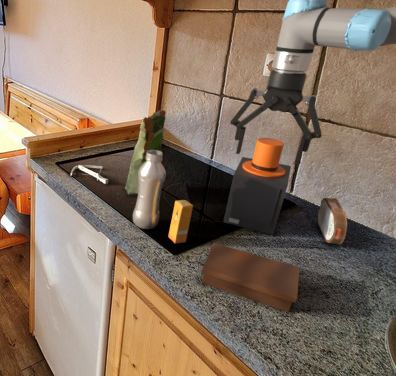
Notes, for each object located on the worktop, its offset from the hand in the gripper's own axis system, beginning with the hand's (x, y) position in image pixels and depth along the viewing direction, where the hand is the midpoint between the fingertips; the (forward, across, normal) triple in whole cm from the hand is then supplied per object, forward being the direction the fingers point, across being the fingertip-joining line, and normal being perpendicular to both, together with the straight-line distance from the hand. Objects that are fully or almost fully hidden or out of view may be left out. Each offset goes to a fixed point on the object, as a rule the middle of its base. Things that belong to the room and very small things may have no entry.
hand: (266, 157), depth 102 cm
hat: (+3, 0, 0) cm, 3 cm away
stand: (+17, +3, -31) cm, 36 cm away
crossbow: (+17, -49, +1) cm, 52 cm away
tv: (+17, 0, 0) cm, 17 cm away
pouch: (+17, -30, -2) cm, 35 cm away
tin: (+17, +18, +1) cm, 25 cm away
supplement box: (+17, -14, -22) cm, 31 cm away
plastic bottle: (+17, -23, -20) cm, 35 cm away
